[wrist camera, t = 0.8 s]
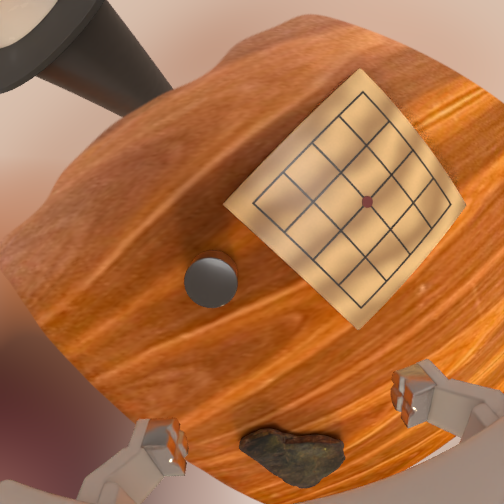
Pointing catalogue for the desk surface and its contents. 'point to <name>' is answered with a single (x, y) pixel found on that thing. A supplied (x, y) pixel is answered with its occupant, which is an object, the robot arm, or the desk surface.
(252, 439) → the stone
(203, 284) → the game stone
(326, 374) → the desk surface
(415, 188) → the go board
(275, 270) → the desk surface
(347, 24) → the desk surface
